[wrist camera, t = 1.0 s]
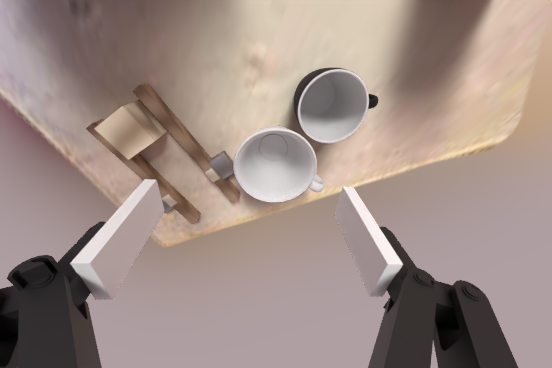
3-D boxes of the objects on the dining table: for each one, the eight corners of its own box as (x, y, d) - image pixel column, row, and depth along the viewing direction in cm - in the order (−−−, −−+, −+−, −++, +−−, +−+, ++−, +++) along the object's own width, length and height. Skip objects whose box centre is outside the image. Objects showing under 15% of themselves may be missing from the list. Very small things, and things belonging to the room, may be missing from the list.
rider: (114, 119, 35) (93, 128, 31) (139, 99, 34) (121, 106, 30) (143, 148, 38) (128, 159, 34) (167, 130, 37) (155, 140, 32)
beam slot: (84, 133, 36) (72, 138, 34) (161, 72, 32) (153, 73, 30) (185, 222, 47) (181, 230, 45) (251, 185, 43) (251, 193, 41)
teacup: (296, 187, 44) (304, 219, 36) (229, 157, 40) (220, 185, 31) (331, 138, 39) (350, 162, 30) (258, 97, 34) (256, 111, 26)
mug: (288, 124, 37) (296, 145, 28) (288, 65, 32) (298, 70, 24) (356, 120, 37) (384, 141, 29) (366, 62, 33) (403, 65, 24)
